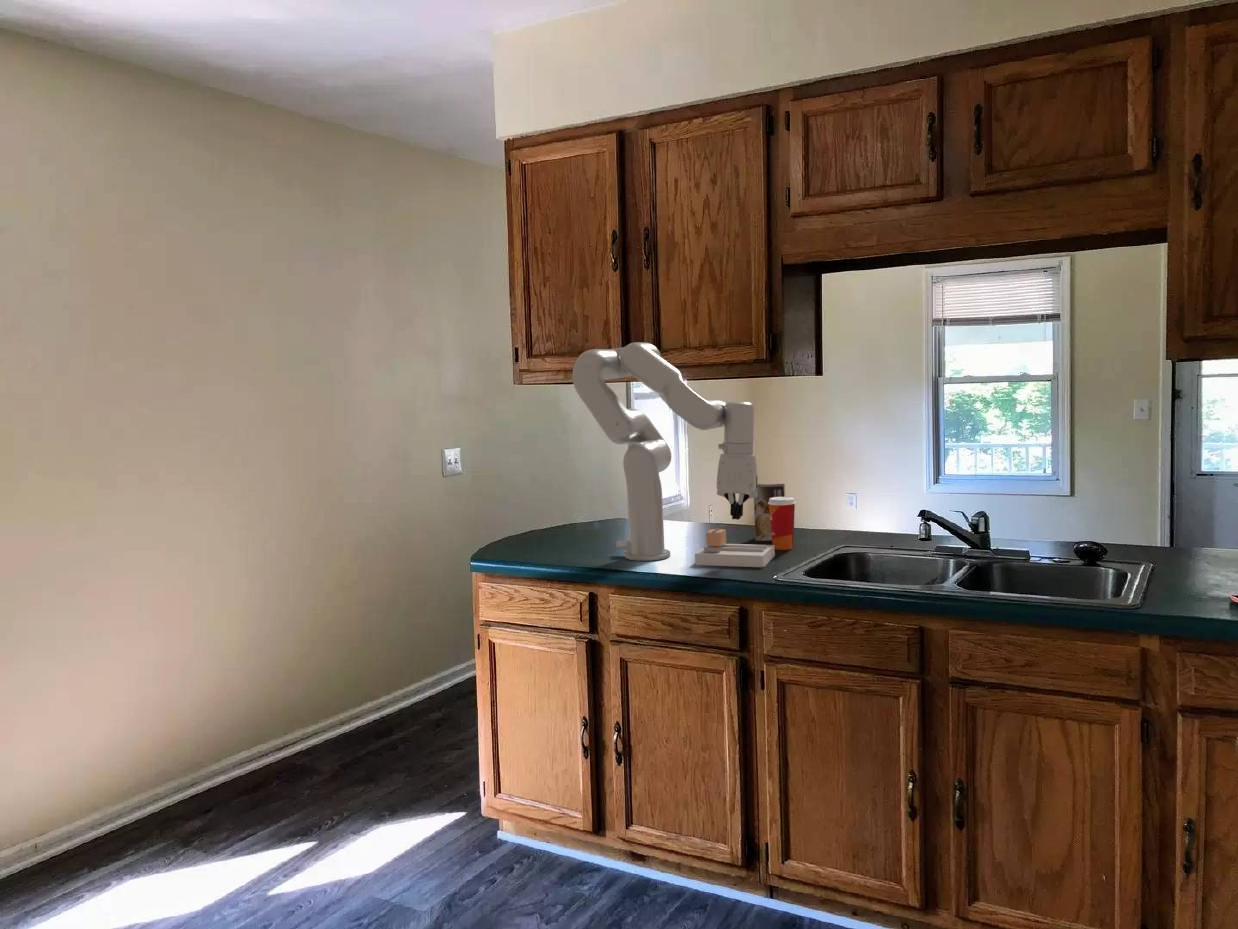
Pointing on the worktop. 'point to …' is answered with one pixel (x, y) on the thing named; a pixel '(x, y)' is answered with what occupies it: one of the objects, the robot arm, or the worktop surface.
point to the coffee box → (765, 509)
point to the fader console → (735, 555)
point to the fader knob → (716, 537)
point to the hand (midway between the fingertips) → (736, 518)
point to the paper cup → (782, 522)
